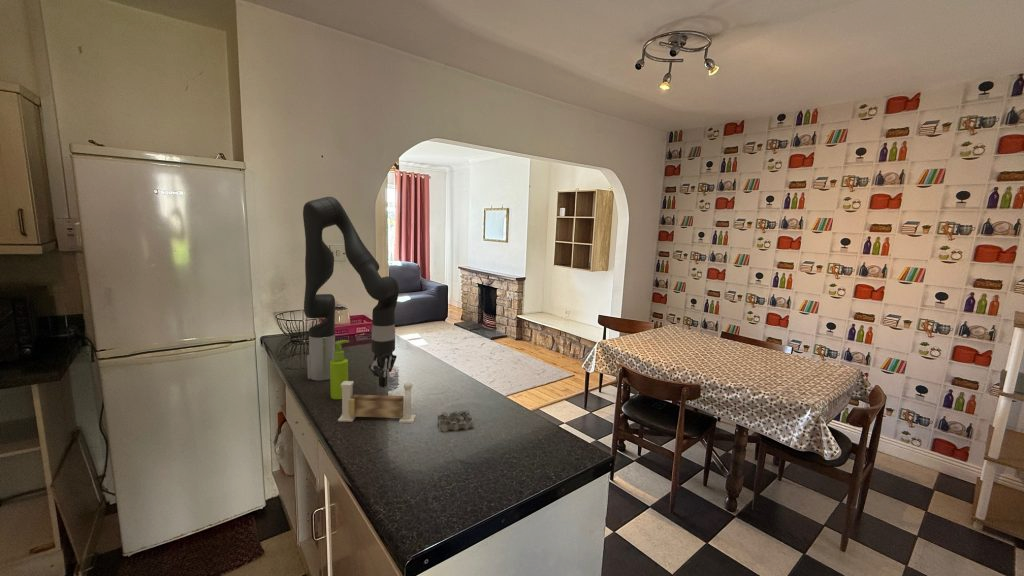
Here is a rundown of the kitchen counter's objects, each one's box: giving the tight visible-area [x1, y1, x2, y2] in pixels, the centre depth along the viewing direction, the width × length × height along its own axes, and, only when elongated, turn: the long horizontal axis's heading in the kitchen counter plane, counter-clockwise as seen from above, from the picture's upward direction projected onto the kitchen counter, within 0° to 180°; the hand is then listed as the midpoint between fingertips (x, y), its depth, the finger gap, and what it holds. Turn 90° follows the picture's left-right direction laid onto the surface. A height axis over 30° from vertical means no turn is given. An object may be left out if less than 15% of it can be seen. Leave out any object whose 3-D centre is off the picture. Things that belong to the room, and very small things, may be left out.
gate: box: [352, 394, 405, 419], centre depth 128 cm, size 16×2×6 cm, turn 93°
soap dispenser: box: [329, 339, 350, 400], centre depth 143 cm, size 6×7×20 cm
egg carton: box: [436, 409, 474, 433], centre depth 127 cm, size 11×8×4 cm
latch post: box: [337, 380, 357, 423], centre depth 127 cm, size 5×4×12 cm
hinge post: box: [398, 381, 417, 424], centre depth 128 cm, size 4×4×13 cm
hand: (383, 386), depth 136 cm, fingers closed
